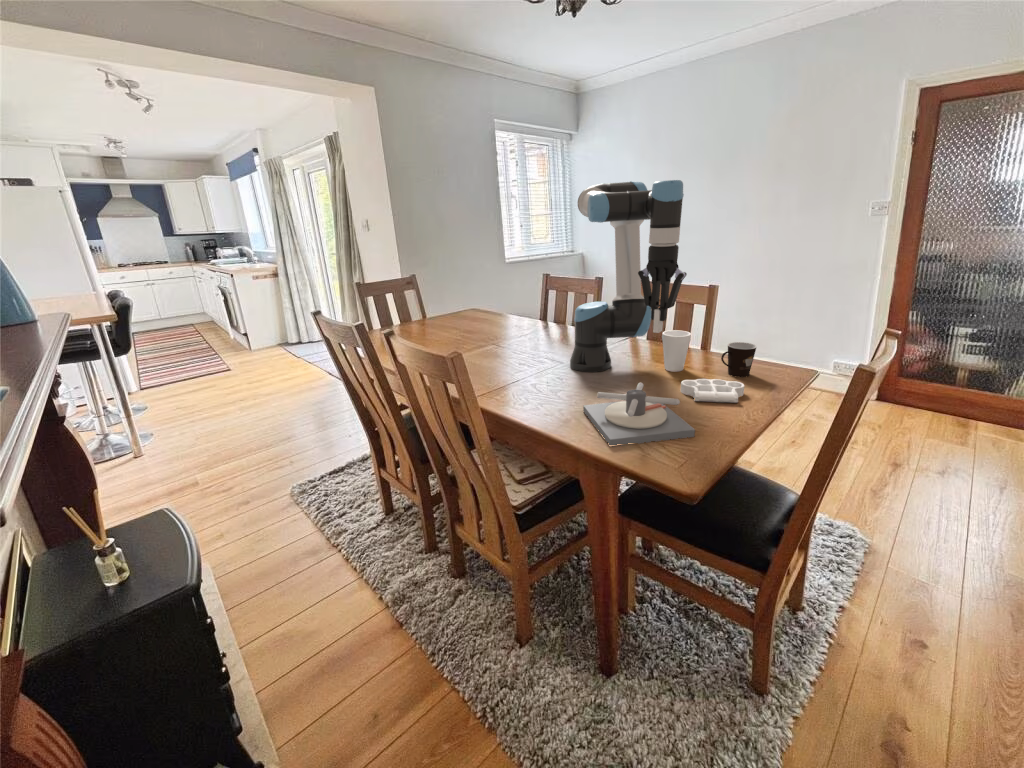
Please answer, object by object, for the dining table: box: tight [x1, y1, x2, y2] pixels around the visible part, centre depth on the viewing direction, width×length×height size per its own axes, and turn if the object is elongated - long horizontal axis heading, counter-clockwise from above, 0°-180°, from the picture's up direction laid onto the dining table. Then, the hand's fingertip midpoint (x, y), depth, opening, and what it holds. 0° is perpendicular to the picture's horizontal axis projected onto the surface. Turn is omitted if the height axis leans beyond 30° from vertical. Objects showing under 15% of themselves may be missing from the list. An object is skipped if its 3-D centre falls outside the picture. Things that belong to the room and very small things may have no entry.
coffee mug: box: [720, 341, 757, 378], centre depth 153 cm, size 12×9×10 cm
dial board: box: [582, 400, 696, 446], centre depth 123 cm, size 22×22×2 cm
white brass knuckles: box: [679, 378, 745, 404], centre depth 139 cm, size 3×18×15 cm
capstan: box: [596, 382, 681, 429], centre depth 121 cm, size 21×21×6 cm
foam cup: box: [661, 329, 692, 373], centre depth 161 cm, size 10×9×13 cm
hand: (657, 331), depth 129 cm, fingers closed
